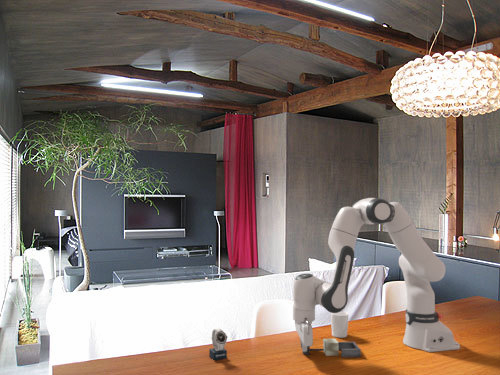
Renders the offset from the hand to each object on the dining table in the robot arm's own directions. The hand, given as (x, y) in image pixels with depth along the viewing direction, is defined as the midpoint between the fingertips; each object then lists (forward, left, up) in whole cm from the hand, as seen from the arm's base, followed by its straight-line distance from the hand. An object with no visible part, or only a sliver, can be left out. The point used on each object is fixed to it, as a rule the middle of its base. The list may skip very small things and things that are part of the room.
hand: (303, 349), depth 173 cm
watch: (+34, +3, -2) cm, 34 cm away
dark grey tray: (-18, 0, -2) cm, 18 cm away
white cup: (-20, -21, -2) cm, 29 cm away
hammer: (-7, 0, -2) cm, 7 cm away
